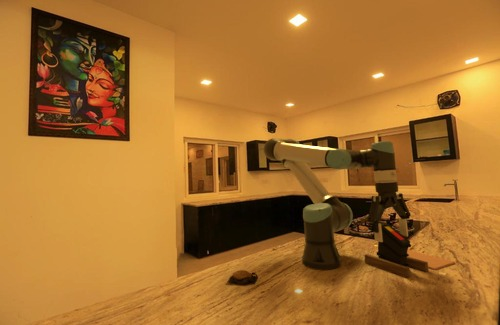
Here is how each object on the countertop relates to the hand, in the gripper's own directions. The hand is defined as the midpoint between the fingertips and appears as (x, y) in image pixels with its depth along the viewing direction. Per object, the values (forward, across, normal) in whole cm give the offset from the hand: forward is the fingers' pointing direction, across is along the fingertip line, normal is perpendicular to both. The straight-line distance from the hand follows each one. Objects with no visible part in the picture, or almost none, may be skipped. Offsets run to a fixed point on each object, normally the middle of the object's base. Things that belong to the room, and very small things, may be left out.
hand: (391, 238), depth 89 cm
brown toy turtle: (+11, -54, +18) cm, 58 cm away
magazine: (+10, 0, 0) cm, 10 cm away
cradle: (+10, 0, 0) cm, 10 cm away
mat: (+10, +14, 0) cm, 17 cm away
